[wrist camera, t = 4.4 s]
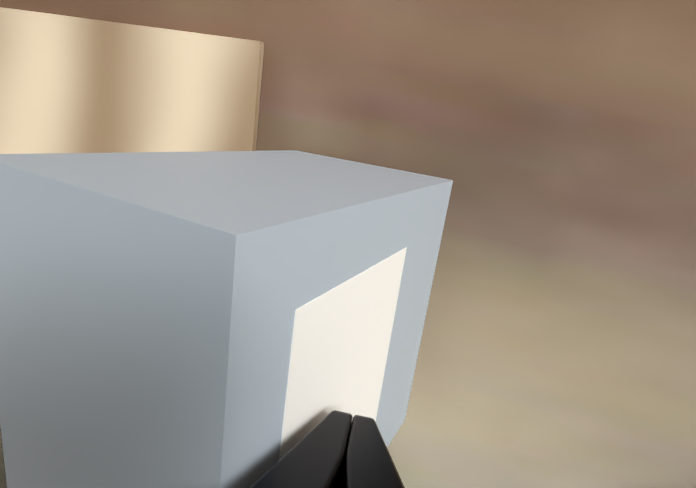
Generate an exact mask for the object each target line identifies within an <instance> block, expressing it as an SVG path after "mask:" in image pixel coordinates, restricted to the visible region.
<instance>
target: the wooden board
mask: <svg viewBox="0 0 696 488" xmlns="http://www.w3.org/2000/svg"><path fill="white" fill-rule="evenodd" d="M263 53H264V43H262V42H261V41H253V40H246V39H238V38H230V37H223V36H215V35H208V34H200V33H192V32H185V31H177V30H169V29H162V28H154V27H147V26H139V25H131V24H124V23H116V22H109V21H101V20H93V19H86V18H78V17H70V16H63V15H55V14H48V13H40V12H32V11H25V10H17V9H10V8H2V7H0V154H45V153H126V152H206V151H256V142H257V129H258V116H259V104H260V91H261V78H262V65H263Z"/></svg>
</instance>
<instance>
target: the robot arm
mask: <svg viewBox="0 0 696 488" xmlns="http://www.w3.org/2000/svg"><path fill="white" fill-rule="evenodd" d="M352 419H353V420H352ZM250 488H404V485H403V483H402V481H401V479H400V476H399V474H398V472H397V469H396V467H395V465H394V463H393V460H392V458H391V456H390V454H389V451H388V449H387V447H386V445H385V442H384V440H383V438H382V436H381V433H380V431H379V429H378V426H377V424H376V422H375V420H374V419H373V418H370V417H365V416H360V415H355V416H354V417H353V416H352V415H351V414H350V413H346V412H341V411H337V410H333V411H331V412H330V413H329V414H328V415H327V416H326V417H325V418H324V419H323V420H322V421H321V422H320V423H319V424H317V425H316V426H315V427H314V428H313V429H312V430H311V431H310V432H309V433H308V434H307V435H306V436H305V437H304V438H302V439H301V440H300V441H299V442H298V443H297V444H296V445H295V446H294V447H293V448H292V449H291V450H290V451H289V452H287V453H286V454H285V455H284V456H283V457H282V458H281V459H280V460H279V461H278V462H277V463H276V464H275V465H274V466H273V467H271V468H270V469H269V470H268V471H267V472H266V473H265V474H264V475H263V476H262V477H261V478H260V479H259V480H258V481H256V482H255V483H254V484H253V485H252V486H251V487H250Z"/></svg>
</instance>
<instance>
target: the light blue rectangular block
mask: <svg viewBox="0 0 696 488" xmlns="http://www.w3.org/2000/svg"><path fill="white" fill-rule="evenodd" d="M452 183H453V180H449V179H444V178H439V177H433V176H428V175H423V174H417V173H412V172H407V171H402V170H396V169H391V168H386V167H380V166H375V165H370V164H365V163H359V162H354V161H349V160H344V159H338V158H333V157H328V156H322V155H317V154H312V153H307V152H301V151H296V150H286V151H206V152H126V153H45V154H0V426H1V435H2V445H3V454H4V464H5V473H6V483H7V488H250V487H251V486H252V485H253V484H254V483H255V482H256V481H258V480H259V479H260V478H261V477H262V476H263V475H264V474H265V473H266V472H267V471H268V470H269V469H270V468H271V467H273V466H274V465H275V464H276V463H277V462H278V461H279V460H280V459H281V458H282V457H283V456H284V455H285V454H286V453H287V452H289V451H290V450H291V449H292V448H293V447H294V446H295V445H296V444H297V443H298V442H299V441H300V440H301V439H302V438H304V437H305V436H306V435H307V434H308V433H309V432H310V431H311V430H312V429H313V428H314V427H315V426H316V425H317V424H319V423H320V422H321V421H322V420H323V419H324V418H325V417H326V416H327V415H328V414H329V413H330V412H331V411H333V410H337V411H341V412H346V413H350V414H351V415H352V416H353V417H354V416H355V415H360V416H365V417H370V418H373V419H374V420H375V422H376V424H377V426H378V429H379V431H380V433H381V436H382V438H383V440H384V442H385V445H386V447H388V445H389V444H390V442H391V440H392V439H393V437H394V436H395V434H396V433H397V431H398V430H399V428H400V427H401V425H402V424H403V422H404V421H405V417H406V412H407V407H408V402H409V397H410V392H411V387H412V382H413V377H414V372H415V367H416V362H417V357H418V352H419V347H420V342H421V337H422V332H423V327H424V322H425V317H426V312H427V307H428V302H429V297H430V292H431V287H432V282H433V277H434V272H435V268H436V263H437V258H438V253H439V248H440V243H441V238H442V233H443V228H444V223H445V218H446V213H447V208H448V203H449V198H450V193H451V188H452ZM352 420H353V419H352Z"/></svg>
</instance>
